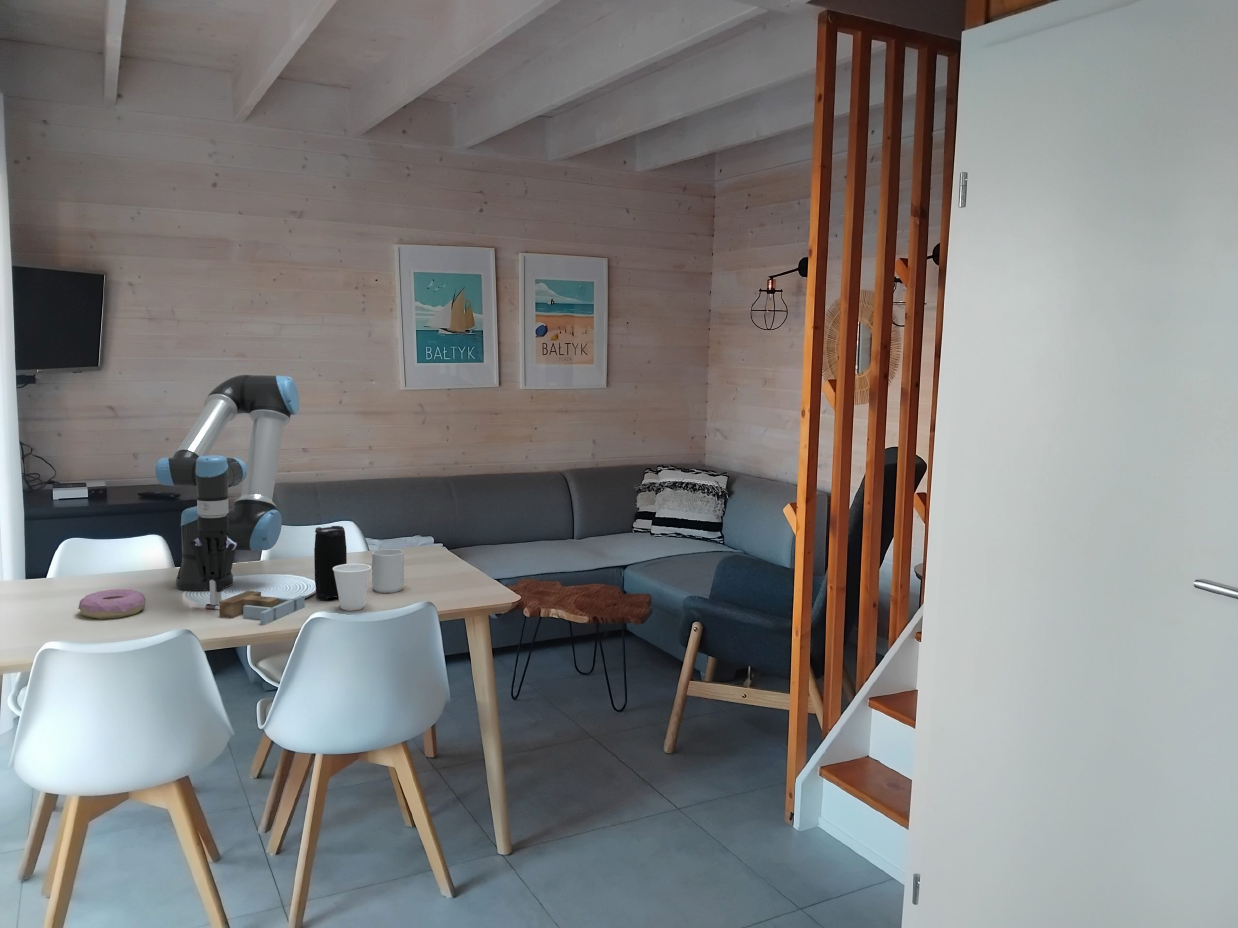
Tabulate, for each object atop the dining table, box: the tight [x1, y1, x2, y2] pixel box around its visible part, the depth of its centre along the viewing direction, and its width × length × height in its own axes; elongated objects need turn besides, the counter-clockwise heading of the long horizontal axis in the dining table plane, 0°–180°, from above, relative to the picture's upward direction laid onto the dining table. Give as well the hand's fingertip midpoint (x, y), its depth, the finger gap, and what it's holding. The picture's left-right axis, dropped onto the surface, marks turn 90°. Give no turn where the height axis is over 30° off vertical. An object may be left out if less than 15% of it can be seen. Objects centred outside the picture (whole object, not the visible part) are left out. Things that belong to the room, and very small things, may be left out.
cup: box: [333, 563, 372, 612], centre depth 255 cm, size 10×10×11 cm
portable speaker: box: [313, 525, 348, 602], centre depth 265 cm, size 9×9×20 cm
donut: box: [77, 588, 147, 620], centre depth 246 cm, size 16×15×5 cm
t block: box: [218, 590, 280, 619], centre depth 249 cm, size 12×12×4 cm
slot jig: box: [242, 595, 306, 626], centre depth 248 cm, size 9×18×3 cm, turn 166°
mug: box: [371, 548, 405, 594], centre depth 276 cm, size 12×9×11 cm
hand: (216, 603), depth 252 cm, fingers closed
